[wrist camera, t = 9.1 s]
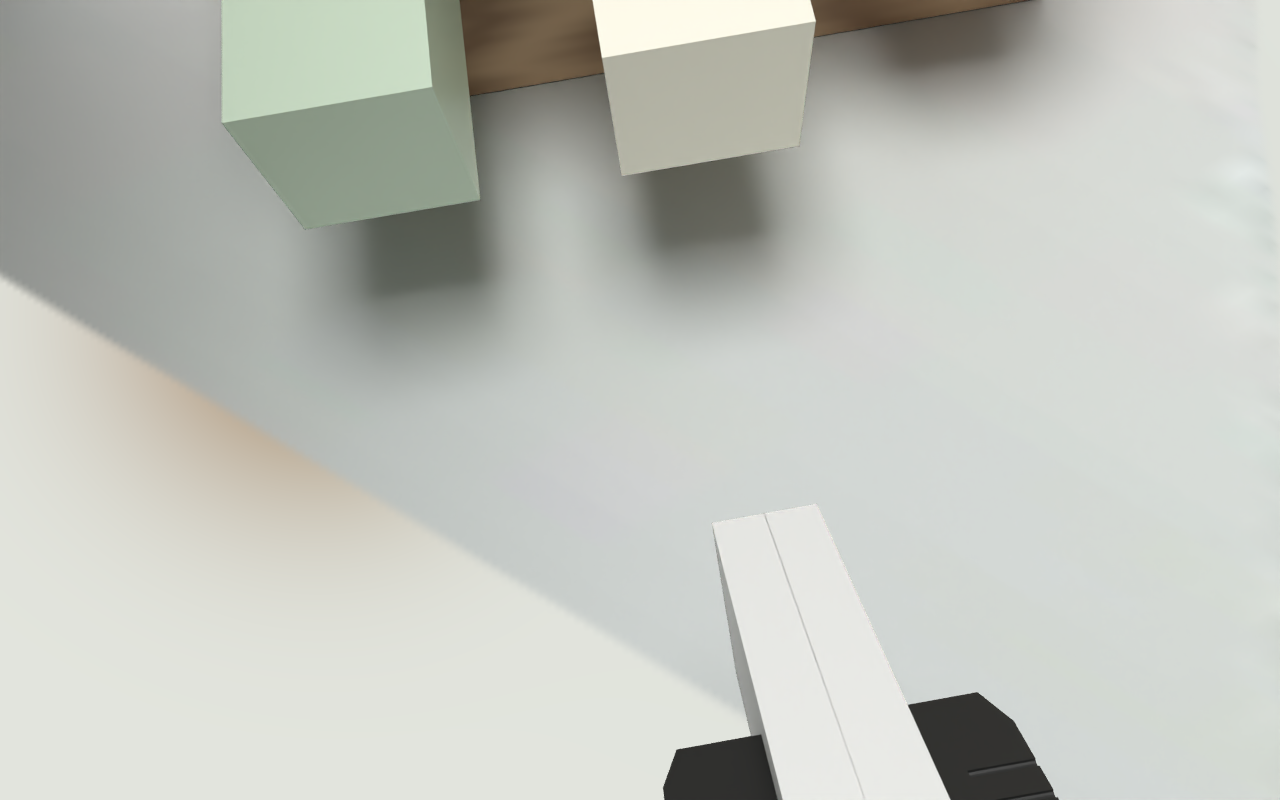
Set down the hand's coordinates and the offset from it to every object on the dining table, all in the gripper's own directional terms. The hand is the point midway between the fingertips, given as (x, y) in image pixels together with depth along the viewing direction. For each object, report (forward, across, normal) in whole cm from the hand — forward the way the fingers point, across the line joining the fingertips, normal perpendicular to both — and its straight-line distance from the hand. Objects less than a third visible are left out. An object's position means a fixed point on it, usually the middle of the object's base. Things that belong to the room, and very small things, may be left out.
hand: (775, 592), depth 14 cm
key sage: (+19, -7, +6) cm, 22 cm away
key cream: (+19, +2, +6) cm, 20 cm away
